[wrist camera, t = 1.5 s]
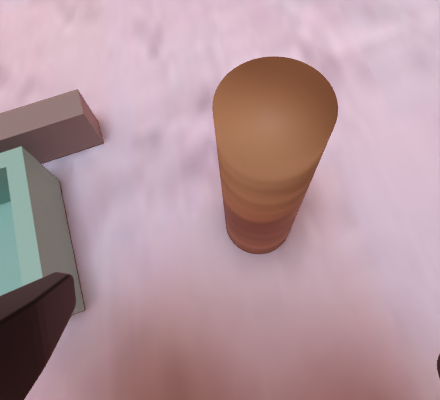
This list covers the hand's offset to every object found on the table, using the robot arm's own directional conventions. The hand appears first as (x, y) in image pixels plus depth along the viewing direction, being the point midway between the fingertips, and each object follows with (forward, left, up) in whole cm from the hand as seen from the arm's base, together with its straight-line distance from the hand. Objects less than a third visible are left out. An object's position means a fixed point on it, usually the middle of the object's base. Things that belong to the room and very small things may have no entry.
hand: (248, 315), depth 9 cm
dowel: (+6, +3, -13) cm, 14 cm away
